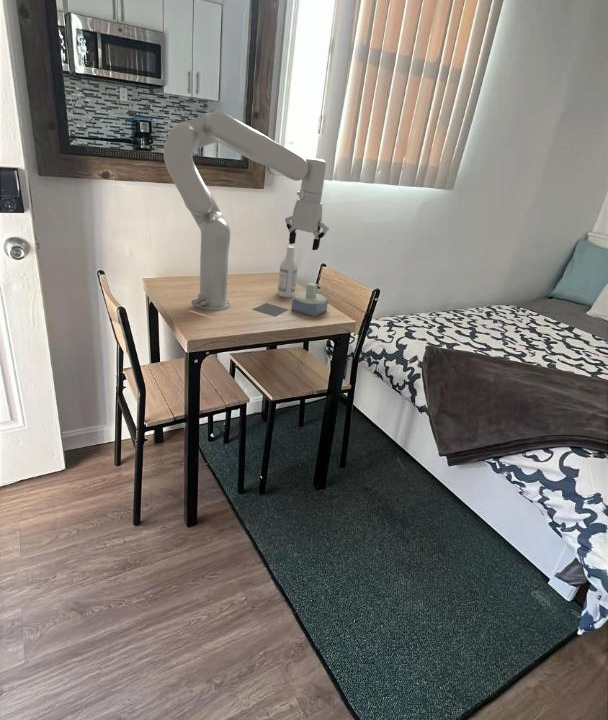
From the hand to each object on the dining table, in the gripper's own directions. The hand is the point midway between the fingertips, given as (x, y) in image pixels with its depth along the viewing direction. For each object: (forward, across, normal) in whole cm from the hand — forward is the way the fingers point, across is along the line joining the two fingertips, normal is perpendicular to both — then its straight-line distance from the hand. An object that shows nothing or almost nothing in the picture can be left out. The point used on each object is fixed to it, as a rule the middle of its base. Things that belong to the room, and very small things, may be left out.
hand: (303, 246), depth 163 cm
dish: (+23, +6, 0) cm, 24 cm away
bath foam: (+24, -10, +10) cm, 27 cm away
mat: (+24, -4, -10) cm, 26 cm away
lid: (+18, +6, 0) cm, 19 cm away
